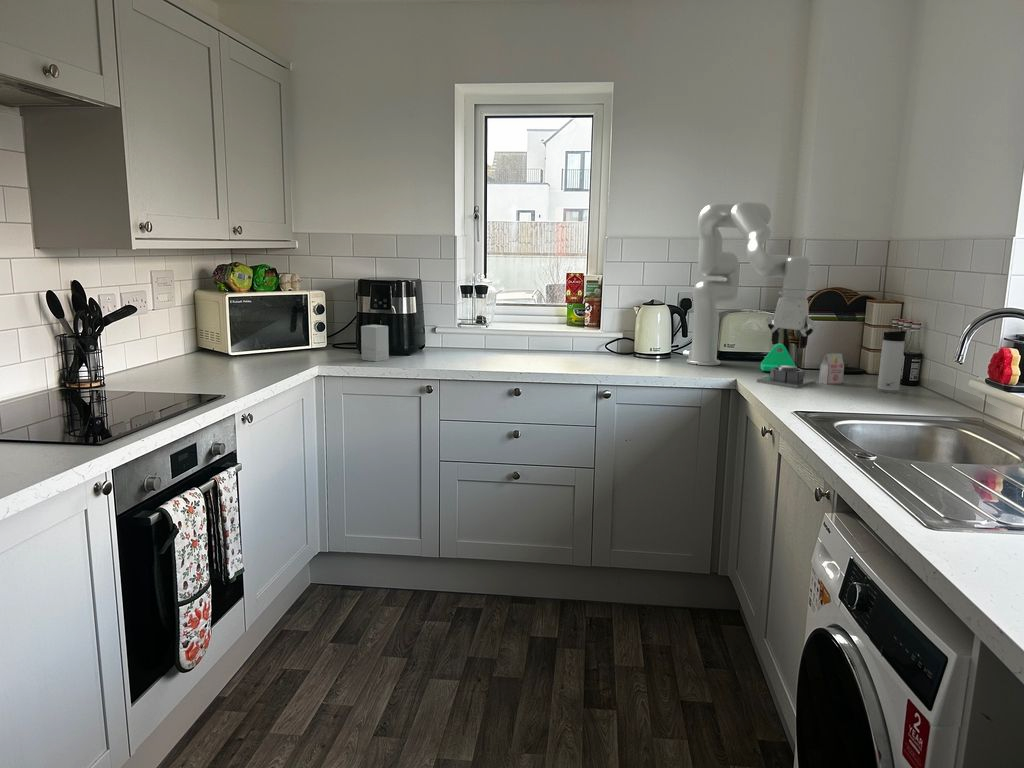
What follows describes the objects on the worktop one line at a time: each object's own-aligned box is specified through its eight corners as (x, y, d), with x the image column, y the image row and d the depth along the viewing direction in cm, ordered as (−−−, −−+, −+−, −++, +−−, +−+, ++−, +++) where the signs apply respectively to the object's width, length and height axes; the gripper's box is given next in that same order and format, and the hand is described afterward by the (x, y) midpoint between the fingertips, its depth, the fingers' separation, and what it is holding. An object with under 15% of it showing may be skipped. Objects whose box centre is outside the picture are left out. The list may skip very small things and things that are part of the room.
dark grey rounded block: (773, 379, 258) (774, 366, 257) (781, 377, 262) (783, 364, 262) (790, 382, 254) (792, 368, 253) (798, 380, 258) (800, 366, 258)
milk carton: (818, 382, 261) (821, 353, 259) (834, 381, 263) (837, 352, 261) (826, 384, 257) (829, 354, 255) (842, 383, 260) (845, 354, 258)
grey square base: (756, 381, 258) (757, 368, 258) (776, 377, 268) (777, 364, 267) (797, 388, 249) (798, 374, 248) (815, 383, 259) (816, 370, 258)
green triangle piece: (761, 373, 277) (763, 345, 275) (760, 370, 285) (762, 342, 283) (796, 375, 274) (799, 347, 273) (794, 372, 282) (797, 344, 280)
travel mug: (890, 394, 242) (898, 331, 238) (872, 390, 248) (879, 329, 244) (903, 393, 245) (911, 330, 241) (885, 389, 251) (892, 328, 247)
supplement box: (389, 359, 286) (389, 325, 284) (375, 361, 280) (375, 327, 278) (374, 357, 290) (374, 324, 288) (360, 359, 284) (360, 325, 282)
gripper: (764, 292, 256) (759, 343, 260) (815, 297, 245) (809, 350, 248) (774, 292, 262) (769, 341, 265) (824, 296, 250) (818, 348, 253)
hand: (788, 346), depth 257 cm, fingers open, 9 cm apart
